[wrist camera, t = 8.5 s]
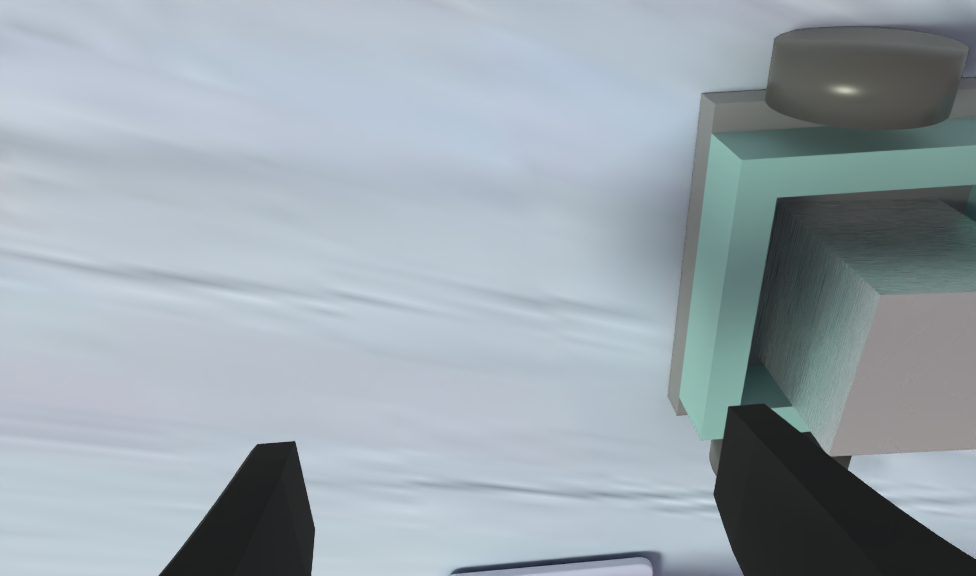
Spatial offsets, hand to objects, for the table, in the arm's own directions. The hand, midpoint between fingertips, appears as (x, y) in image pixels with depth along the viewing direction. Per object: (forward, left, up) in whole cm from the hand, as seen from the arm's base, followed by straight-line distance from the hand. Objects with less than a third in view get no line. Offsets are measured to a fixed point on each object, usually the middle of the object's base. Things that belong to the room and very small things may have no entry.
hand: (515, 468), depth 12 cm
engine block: (-2, -10, -8) cm, 13 cm away
